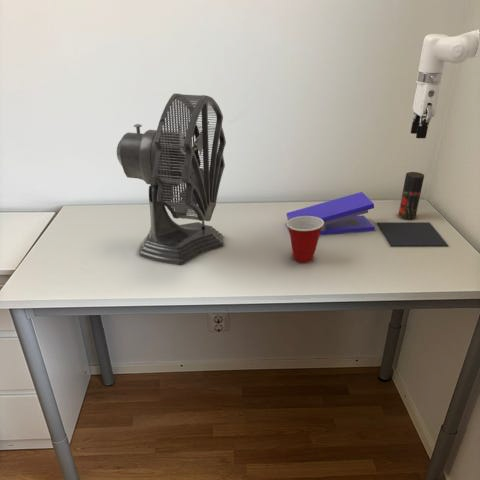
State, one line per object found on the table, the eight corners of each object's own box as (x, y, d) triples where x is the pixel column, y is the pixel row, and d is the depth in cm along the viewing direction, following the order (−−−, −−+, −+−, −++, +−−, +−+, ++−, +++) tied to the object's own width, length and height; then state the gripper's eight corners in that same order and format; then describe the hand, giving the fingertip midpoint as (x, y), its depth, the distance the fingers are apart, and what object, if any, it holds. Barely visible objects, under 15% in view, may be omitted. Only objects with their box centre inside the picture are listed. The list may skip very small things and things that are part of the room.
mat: (429, 223, 177) (429, 222, 176) (447, 246, 162) (447, 245, 162) (377, 223, 176) (377, 222, 176) (391, 246, 161) (391, 245, 161)
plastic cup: (292, 247, 160) (295, 211, 154) (325, 255, 156) (329, 218, 149) (278, 262, 152) (280, 224, 146) (312, 270, 148) (316, 231, 141)
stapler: (375, 231, 171) (379, 202, 166) (294, 237, 167) (296, 208, 161) (361, 217, 180) (365, 190, 175) (284, 223, 176) (286, 195, 170)
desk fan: (267, 261, 152) (273, 100, 127) (163, 288, 139) (147, 114, 114) (215, 221, 177) (212, 79, 151) (123, 241, 163) (102, 88, 138)
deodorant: (417, 220, 179) (426, 177, 171) (400, 219, 179) (408, 177, 171) (413, 213, 184) (421, 172, 176) (396, 213, 184) (404, 171, 176)
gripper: (450, 82, 159) (437, 142, 169) (431, 73, 173) (420, 129, 183) (426, 82, 158) (414, 142, 169) (409, 73, 173) (400, 129, 183)
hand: (418, 135), depth 176 cm, fingers open, 5 cm apart
